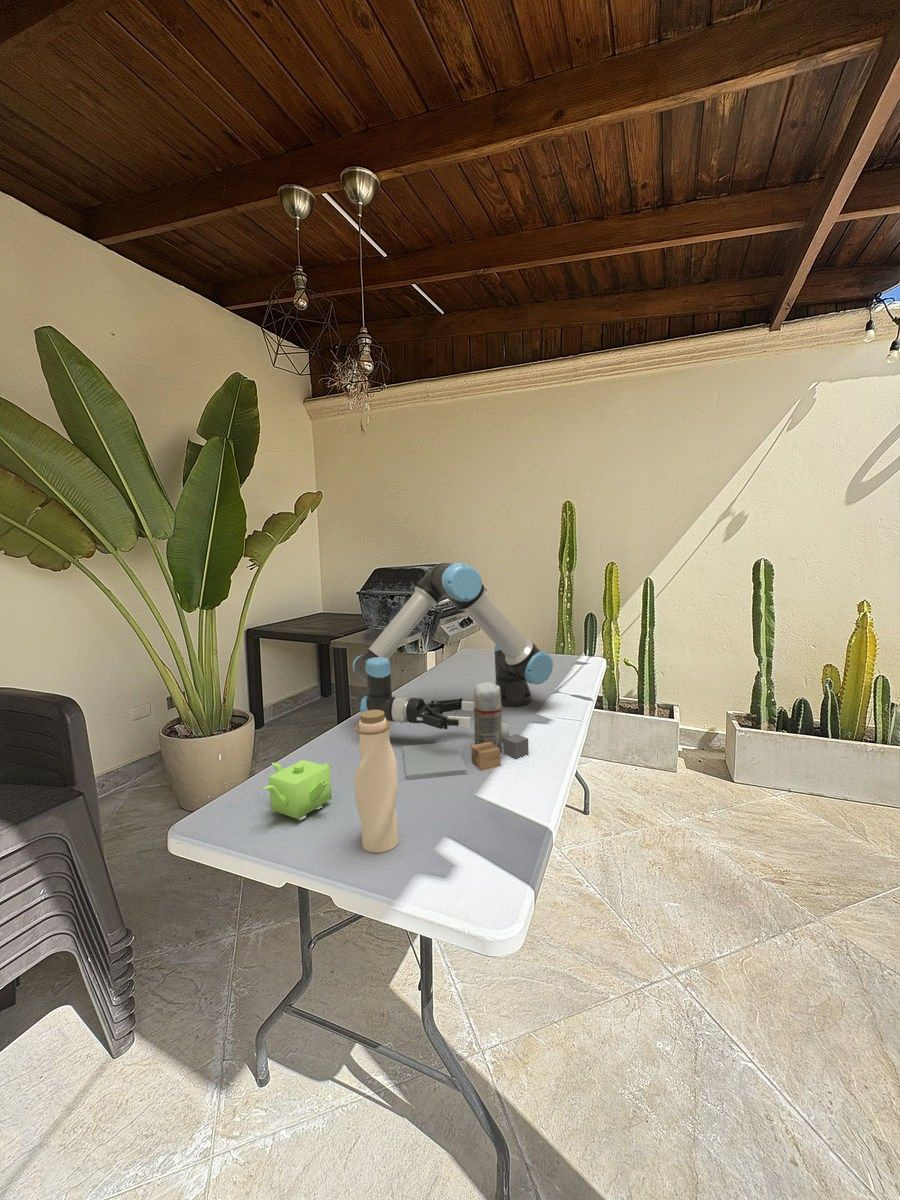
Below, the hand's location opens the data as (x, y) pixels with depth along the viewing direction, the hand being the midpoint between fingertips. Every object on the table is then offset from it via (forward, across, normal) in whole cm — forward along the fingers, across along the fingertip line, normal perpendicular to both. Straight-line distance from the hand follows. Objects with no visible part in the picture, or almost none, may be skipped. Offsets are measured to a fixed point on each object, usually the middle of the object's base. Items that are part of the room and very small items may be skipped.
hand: (476, 714), depth 156 cm
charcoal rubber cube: (+12, +1, -11) cm, 16 cm away
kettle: (-33, +43, -11) cm, 55 cm away
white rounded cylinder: (+4, -10, -11) cm, 15 cm away
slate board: (-11, +10, -11) cm, 18 cm away
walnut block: (+5, +9, -11) cm, 15 cm away
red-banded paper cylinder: (+3, 0, -11) cm, 12 cm away
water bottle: (-8, +50, -11) cm, 52 cm away
